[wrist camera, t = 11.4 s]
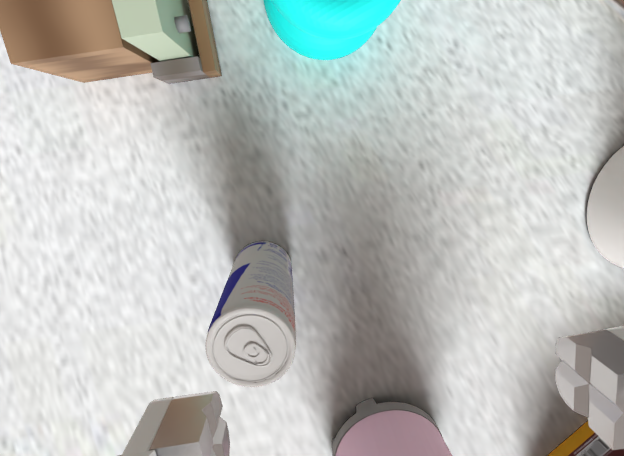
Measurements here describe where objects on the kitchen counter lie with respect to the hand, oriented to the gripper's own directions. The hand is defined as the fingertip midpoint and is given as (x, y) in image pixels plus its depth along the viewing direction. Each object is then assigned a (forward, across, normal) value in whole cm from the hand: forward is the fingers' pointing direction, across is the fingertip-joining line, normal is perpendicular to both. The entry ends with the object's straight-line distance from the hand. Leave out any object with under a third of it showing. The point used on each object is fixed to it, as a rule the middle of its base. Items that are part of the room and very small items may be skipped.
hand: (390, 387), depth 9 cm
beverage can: (+28, +6, +6) cm, 30 cm away
